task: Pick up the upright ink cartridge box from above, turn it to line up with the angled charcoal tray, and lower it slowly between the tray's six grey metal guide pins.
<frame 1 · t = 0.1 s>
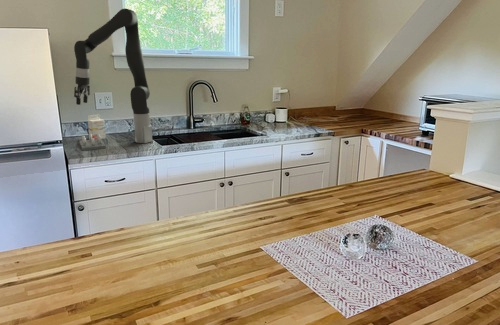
hand: (81, 103, 231), 22 cm above the worktop, tool pointing down, fingers open, 8 cm apart
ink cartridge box: (97, 138, 242), on the worktop
pin tray: (92, 145, 224), on the worktop
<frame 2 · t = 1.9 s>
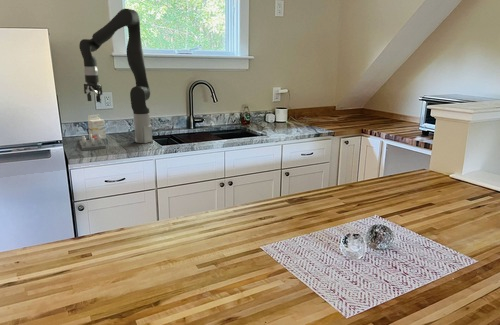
hand: (94, 101, 236), 23 cm above the worktop, tool pointing down, fingers open, 8 cm apart
nothing on the worktop moved.
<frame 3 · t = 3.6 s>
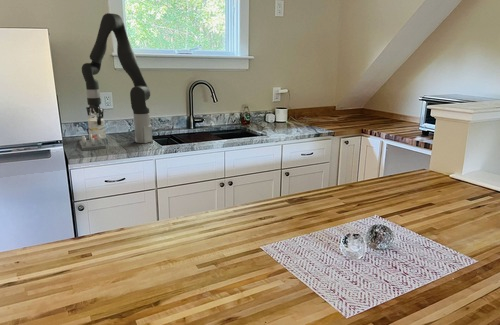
hand: (96, 124, 240), 9 cm above the worktop, tool pointing down, fingers closed on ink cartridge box, 5 cm apart
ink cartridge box: (97, 138, 242), on the worktop, touching gripper
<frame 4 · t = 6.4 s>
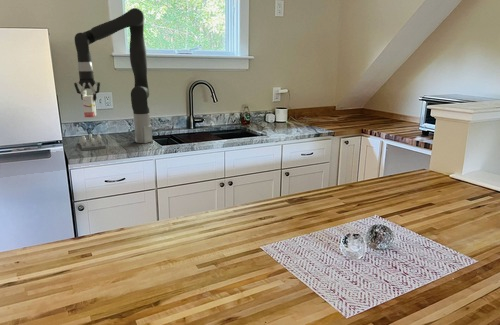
hand: (89, 100, 221), 25 cm above the worktop, tool pointing down, fingers closed on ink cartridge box, 5 cm apart
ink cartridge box: (91, 116, 224), point 16 cm above the worktop, touching gripper
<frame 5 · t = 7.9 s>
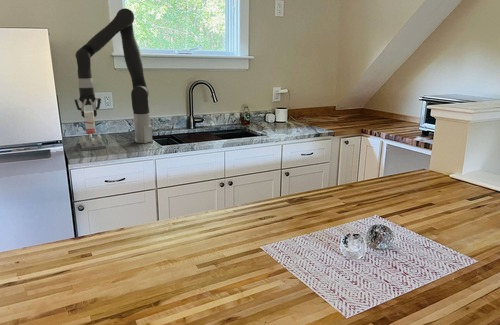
hand: (89, 116, 219), 17 cm above the worktop, tool pointing down, fingers closed on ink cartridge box, 5 cm apart
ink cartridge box: (91, 132, 221), point 8 cm above the worktop, touching gripper
when the fingers open (12 cm above the worktop, at t = 9.3 s): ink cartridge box drops 1 cm, resting on pin tray.
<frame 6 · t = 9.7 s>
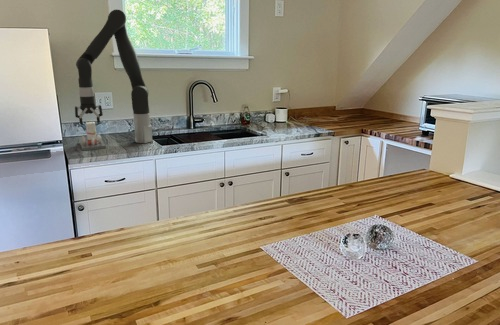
hand: (90, 124, 220), 13 cm above the worktop, tool pointing down, fingers open, 8 cm apart
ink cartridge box: (92, 143, 223), point 1 cm above the worktop, touching pin tray
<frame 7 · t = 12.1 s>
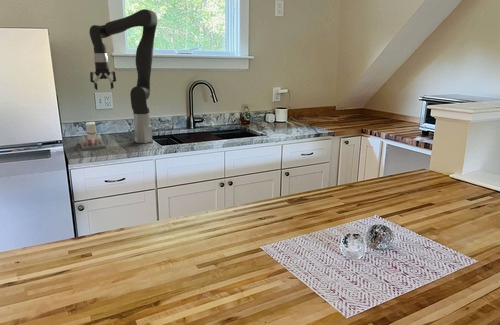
hand: (104, 89, 232), 31 cm above the worktop, tool pointing down, fingers open, 8 cm apart
nothing on the worktop moved.
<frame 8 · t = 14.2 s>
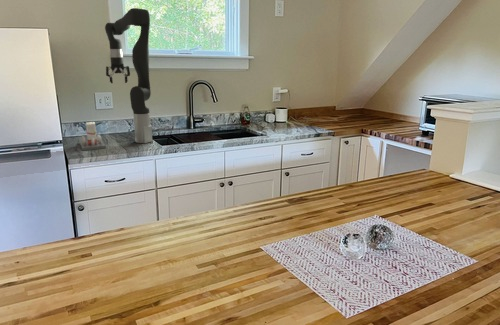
hand: (118, 83, 247), 33 cm above the worktop, tool pointing down, fingers open, 8 cm apart
nothing on the worktop moved.
at the end: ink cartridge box 0.3 cm off-centre on the pin tray, point 1.3 cm above the pin tray's base; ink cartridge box tilted 0°; the gripper is holding nothing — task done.
